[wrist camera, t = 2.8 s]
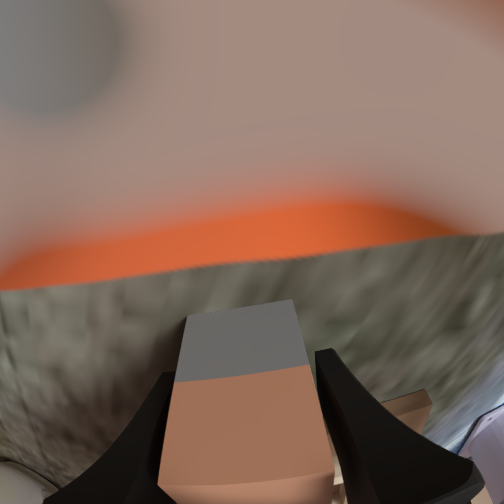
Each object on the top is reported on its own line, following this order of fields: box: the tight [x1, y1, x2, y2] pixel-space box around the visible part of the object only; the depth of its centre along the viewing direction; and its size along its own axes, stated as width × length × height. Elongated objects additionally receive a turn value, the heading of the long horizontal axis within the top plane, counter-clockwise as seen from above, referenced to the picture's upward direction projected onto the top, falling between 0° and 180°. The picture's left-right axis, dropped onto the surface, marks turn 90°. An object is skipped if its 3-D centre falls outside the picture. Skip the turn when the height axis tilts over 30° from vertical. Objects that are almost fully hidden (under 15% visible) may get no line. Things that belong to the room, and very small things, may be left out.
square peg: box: [157, 299, 335, 504], centre depth 10 cm, size 4×4×7 cm
